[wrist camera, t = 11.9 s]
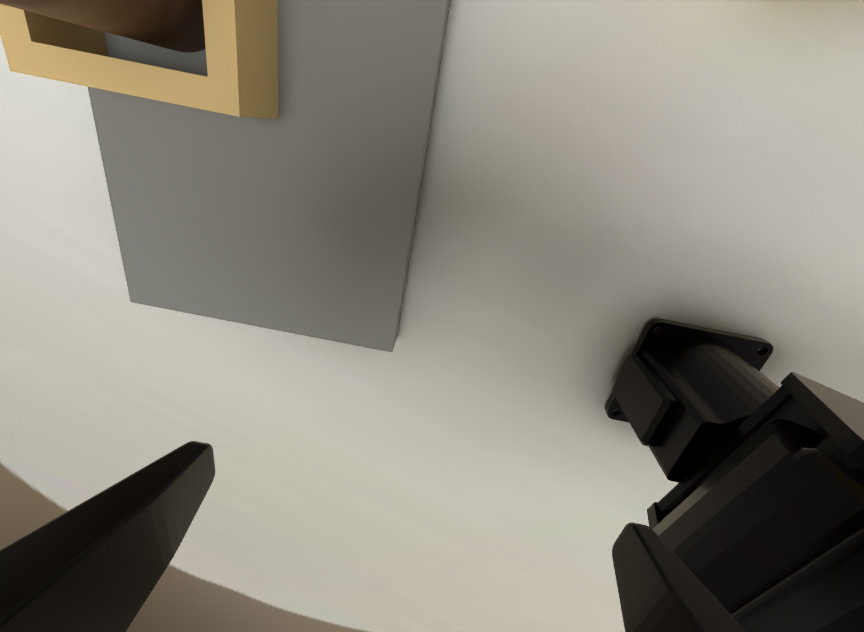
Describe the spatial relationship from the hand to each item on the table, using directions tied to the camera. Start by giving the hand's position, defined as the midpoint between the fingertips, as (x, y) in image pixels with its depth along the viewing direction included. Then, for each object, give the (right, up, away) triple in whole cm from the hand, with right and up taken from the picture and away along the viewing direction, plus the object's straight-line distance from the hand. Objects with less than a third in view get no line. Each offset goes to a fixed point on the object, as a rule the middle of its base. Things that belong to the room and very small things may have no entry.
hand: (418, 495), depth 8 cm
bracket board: (-7, +13, +9) cm, 17 cm away
